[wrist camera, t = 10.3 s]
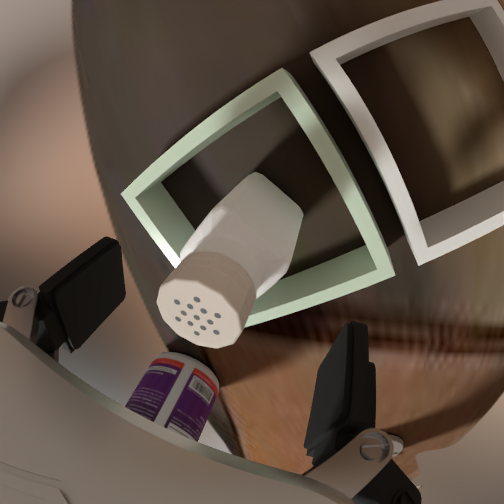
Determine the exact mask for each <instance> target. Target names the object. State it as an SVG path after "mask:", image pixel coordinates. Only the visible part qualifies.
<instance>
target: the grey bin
mask: <svg viewBox="0 0 504 504" xmlns="http://www.w3.org/2000/svg"><path fill="white" fill-rule="evenodd" d="M466 17H470V19H471V21H472V22H473V24H474V25H475V27H476V29H477V30H478V32H479V34H480V36H481V37H482V39H483V41H484V43H485V45H486V46H487V48H488V50H489V52H490V54H491V56H492V58H493V60H494V62H495V64H496V66H497V69H498V71H499V73H500V75H501V77H502V80H503V82H504V10H503V9H502V7H501V5H500V4H499V2H498V1H497V0H442V1H438V2H434V3H430V4H426V5H423V6H419V7H416V8H413V9H410V10H407V11H403V12H400V13H398V14H395V15H392V16H389V17H386V18H384V19H381V20H378V21H376V22H373V23H371V24H368V25H366V26H364V27H361V28H359V29H357V30H354V31H352V32H350V33H348V34H345V35H343V36H341V37H339V38H337V39H335V40H333V41H331V42H329V43H327V44H325V45H323V46H321V47H319V48H317V49H315V50H313V51H311V52H309V53H310V55H311V58H312V60H313V63H314V64H315V65H316V67H317V68H318V70H319V71H320V72H321V74H322V75H323V77H324V78H325V80H326V81H327V83H328V84H329V86H330V87H331V89H332V90H333V92H334V93H335V95H336V96H337V98H338V100H339V101H340V103H341V104H342V106H343V108H344V109H345V111H346V113H347V114H348V116H349V118H350V119H351V121H352V123H353V124H354V126H355V128H356V130H357V131H358V133H359V135H360V137H361V139H362V141H363V142H364V144H365V146H366V148H367V150H368V152H369V154H370V156H371V158H372V160H373V162H374V164H375V166H376V168H377V170H378V172H379V174H380V176H381V178H382V180H383V182H384V185H385V187H386V189H387V191H388V193H389V196H390V198H391V200H392V203H393V205H394V207H395V210H396V212H397V215H398V217H399V220H400V222H401V225H402V227H403V230H404V233H405V235H406V238H407V240H408V243H409V245H410V247H411V249H412V252H413V254H414V256H415V259H416V261H417V263H418V266H419V265H421V264H424V263H426V262H428V261H430V260H433V259H435V258H437V257H439V256H442V255H444V254H446V253H448V252H450V251H452V250H454V249H457V248H459V247H461V246H463V245H465V244H467V243H469V242H471V241H473V240H475V239H477V238H479V237H481V236H483V235H485V234H487V233H489V232H491V231H493V230H495V229H497V228H499V227H500V226H502V225H504V181H502V182H500V183H498V184H496V185H494V186H492V187H490V188H488V189H486V190H484V191H482V192H480V193H478V194H476V195H474V196H472V197H470V198H468V199H466V200H464V201H461V202H459V203H457V204H455V205H453V206H451V207H449V208H447V209H445V210H443V211H440V212H438V213H436V214H434V215H432V216H430V217H428V218H425V219H423V220H421V221H419V220H418V217H417V214H416V211H415V209H414V206H413V203H412V201H411V198H410V196H409V193H408V191H407V188H406V186H405V183H404V181H403V179H402V176H401V174H400V172H399V170H398V167H397V165H396V163H395V161H394V159H393V156H392V154H391V152H390V150H389V148H388V146H387V144H386V142H385V140H384V138H383V136H382V134H381V132H380V130H379V129H378V127H377V125H376V123H375V121H374V119H373V117H372V116H371V114H370V112H369V110H368V109H367V107H366V105H365V103H364V102H363V100H362V98H361V97H360V95H359V94H358V92H357V90H356V89H355V87H354V85H353V84H352V82H351V81H350V79H349V78H348V76H347V75H346V73H345V72H344V70H343V69H342V67H341V66H340V65H341V64H343V63H345V62H347V61H349V60H351V59H353V58H355V57H357V56H360V55H362V54H364V53H366V52H368V51H371V50H373V49H375V48H378V47H380V46H382V45H385V44H387V43H390V42H392V41H395V40H397V39H400V38H402V37H405V36H408V35H411V34H413V33H416V32H419V31H422V30H425V29H428V28H431V27H434V26H437V25H441V24H444V23H448V22H451V21H455V20H458V19H462V18H466Z"/></svg>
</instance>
